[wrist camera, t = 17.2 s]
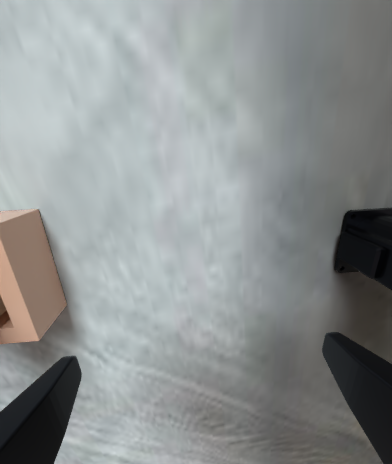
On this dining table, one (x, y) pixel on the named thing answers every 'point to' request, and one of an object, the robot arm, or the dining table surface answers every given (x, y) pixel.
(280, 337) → the dining table surface
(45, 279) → the socket
